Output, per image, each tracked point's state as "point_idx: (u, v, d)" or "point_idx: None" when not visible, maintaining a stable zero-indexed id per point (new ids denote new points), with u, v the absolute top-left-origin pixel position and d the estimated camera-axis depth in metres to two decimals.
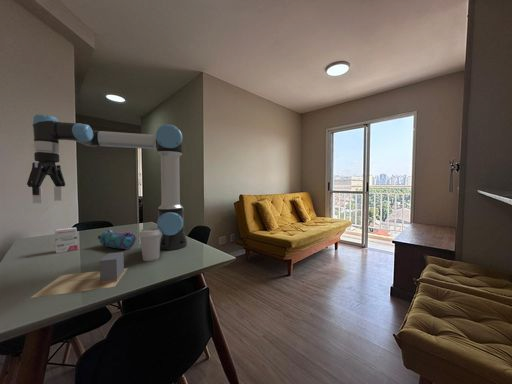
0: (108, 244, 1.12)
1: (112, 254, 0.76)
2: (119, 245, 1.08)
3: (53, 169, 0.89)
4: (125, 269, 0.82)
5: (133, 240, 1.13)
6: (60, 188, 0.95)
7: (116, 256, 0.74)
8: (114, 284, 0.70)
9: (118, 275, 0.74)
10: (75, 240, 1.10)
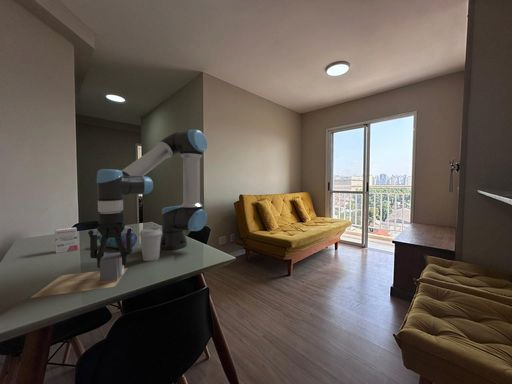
0: (109, 244, 1.12)
1: (112, 254, 0.76)
2: None
3: None
4: (125, 269, 0.82)
5: (135, 239, 1.15)
6: None
7: (116, 256, 0.74)
8: (114, 284, 0.70)
9: (118, 275, 0.74)
10: (75, 240, 1.10)
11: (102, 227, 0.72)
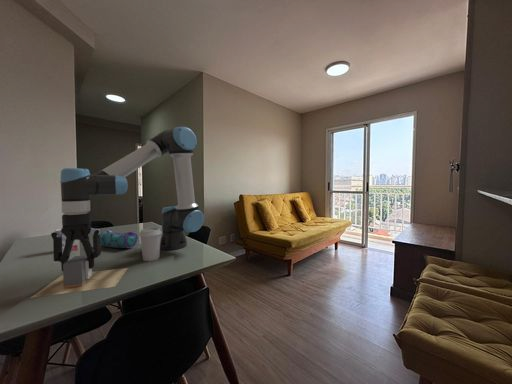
0: (109, 244, 1.13)
1: (78, 257, 0.73)
2: (123, 244, 1.10)
3: None
4: (125, 269, 0.82)
5: (136, 239, 1.15)
6: None
7: (82, 259, 0.71)
8: (114, 284, 0.70)
9: (84, 279, 0.70)
10: (75, 240, 1.10)
11: (66, 229, 0.69)
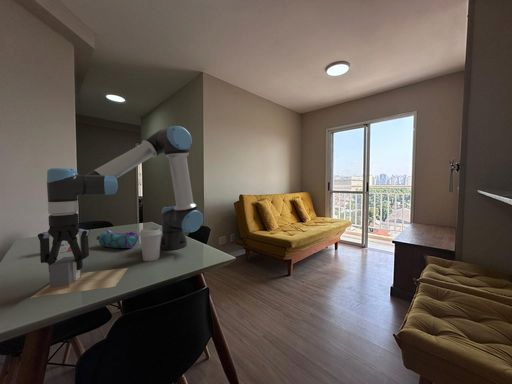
0: (109, 244, 1.13)
1: (67, 258, 0.72)
2: (123, 244, 1.10)
3: None
4: (125, 269, 0.82)
5: (136, 239, 1.16)
6: None
7: (69, 260, 0.70)
8: (114, 284, 0.70)
9: (71, 281, 0.69)
10: None
11: (53, 230, 0.68)
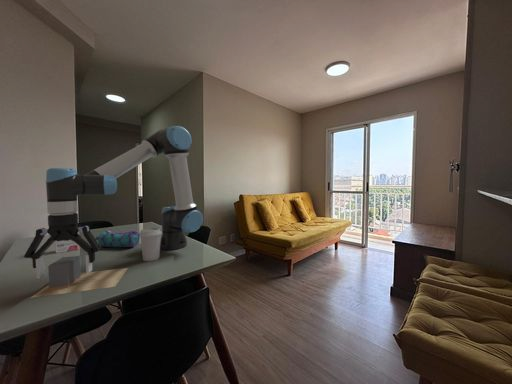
0: (111, 244, 1.13)
1: (66, 258, 0.72)
2: (127, 243, 1.12)
3: None
4: (125, 269, 0.82)
5: (138, 238, 1.18)
6: (86, 257, 0.71)
7: (69, 260, 0.70)
8: (114, 284, 0.70)
9: (70, 281, 0.69)
10: None
11: (53, 230, 0.68)
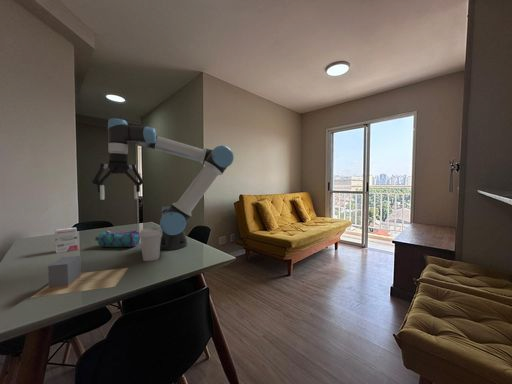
0: (111, 244, 1.13)
1: (66, 258, 0.72)
2: (128, 243, 1.13)
3: (120, 168, 0.94)
4: (125, 269, 0.82)
5: (139, 237, 1.19)
6: None
7: (69, 260, 0.70)
8: (114, 284, 0.70)
9: (70, 281, 0.69)
10: (75, 240, 1.10)
11: (112, 165, 0.93)
